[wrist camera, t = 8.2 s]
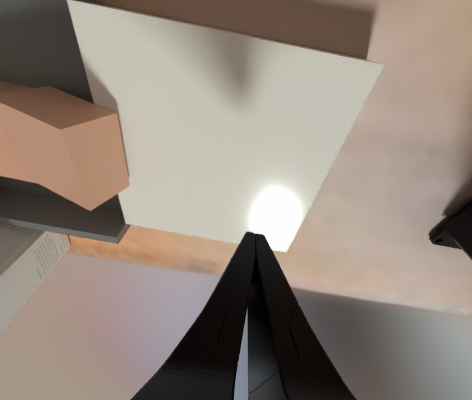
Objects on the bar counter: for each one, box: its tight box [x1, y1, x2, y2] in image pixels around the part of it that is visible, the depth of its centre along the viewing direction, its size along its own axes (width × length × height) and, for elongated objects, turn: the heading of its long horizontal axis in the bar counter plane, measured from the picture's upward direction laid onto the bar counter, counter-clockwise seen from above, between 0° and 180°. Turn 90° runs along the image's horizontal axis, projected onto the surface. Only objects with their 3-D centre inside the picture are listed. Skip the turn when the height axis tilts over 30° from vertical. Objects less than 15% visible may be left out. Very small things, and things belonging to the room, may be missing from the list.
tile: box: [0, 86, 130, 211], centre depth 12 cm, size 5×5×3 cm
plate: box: [67, 0, 384, 252], centre depth 14 cm, size 14×14×2 cm
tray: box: [0, 0, 130, 244], centre depth 13 cm, size 13×16×4 cm
